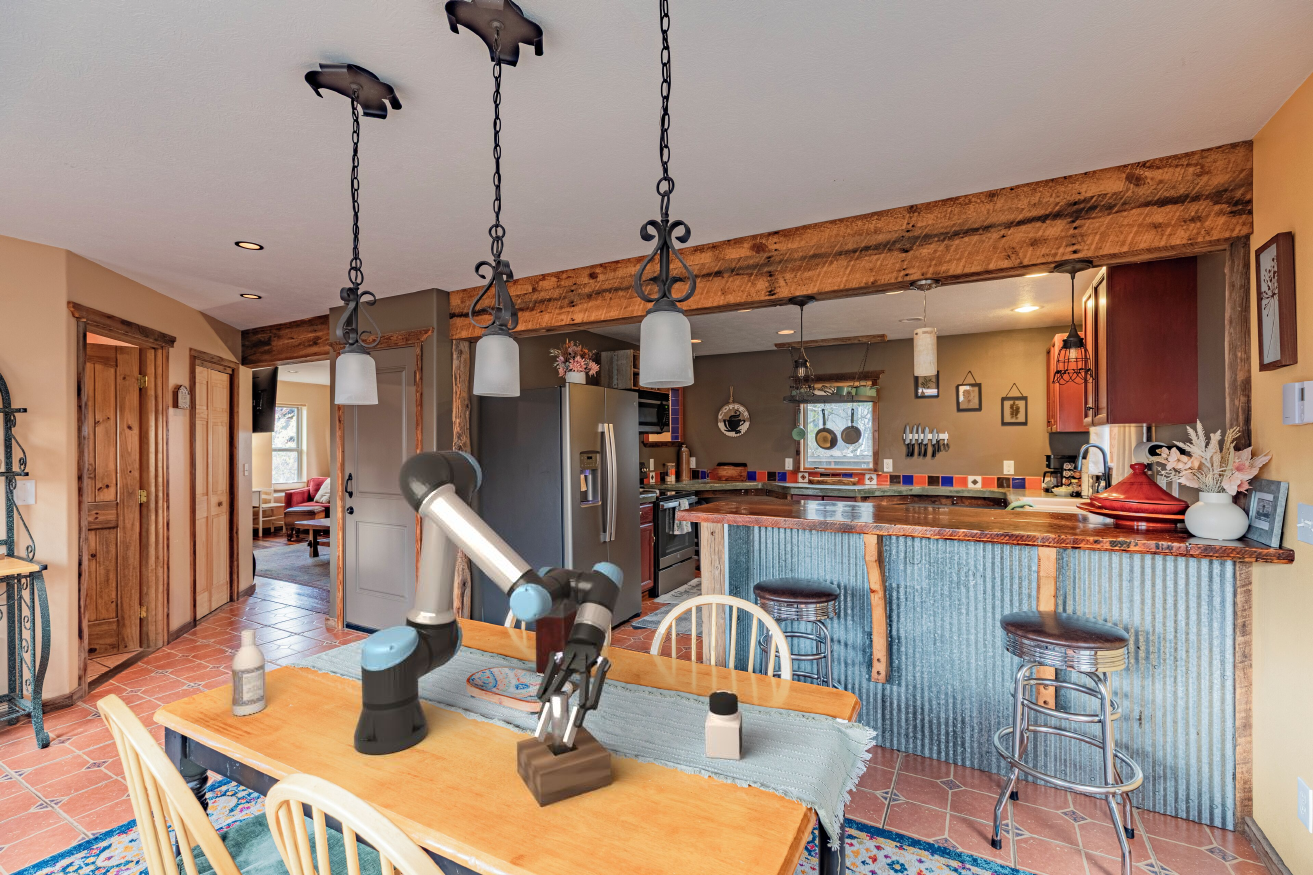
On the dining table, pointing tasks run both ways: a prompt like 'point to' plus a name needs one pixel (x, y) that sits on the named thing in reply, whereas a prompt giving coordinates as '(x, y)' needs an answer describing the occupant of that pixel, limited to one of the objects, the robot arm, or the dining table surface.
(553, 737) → the steel pin
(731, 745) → the medicine bottle
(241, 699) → the bath foam
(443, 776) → the dining table surface
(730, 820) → the dining table surface
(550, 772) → the bore block
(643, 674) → the dining table surface
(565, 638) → the square glass decanter
